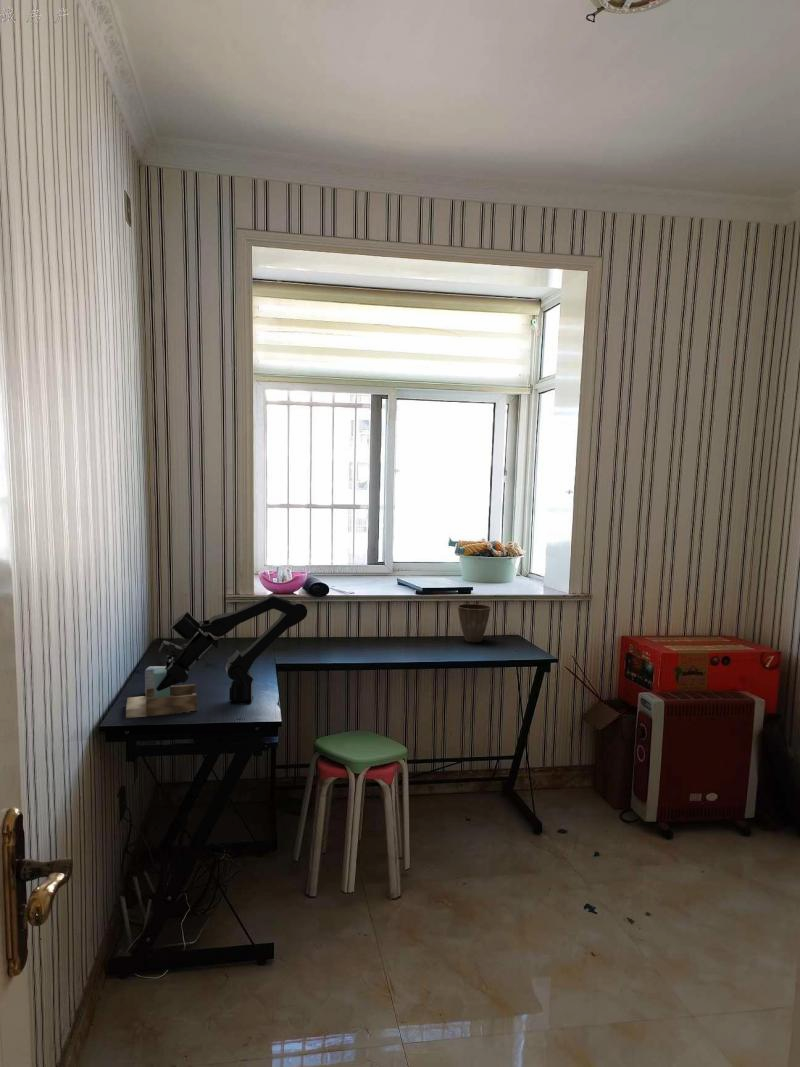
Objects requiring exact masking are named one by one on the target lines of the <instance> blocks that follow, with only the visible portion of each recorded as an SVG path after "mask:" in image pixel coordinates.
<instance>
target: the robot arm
mask: <svg viewBox="0 0 800 1067" xmlns="http://www.w3.org/2000/svg"><path fill="white" fill-rule="evenodd" d="M271 610H276V611H279V612H281V613H280V615H279V617H278V619H277V620H276V621H275V622H273V623H272V625H271V626H269V627H268V628H267V629H266V630H265V631H264V632H263V633H262V634H261V635H260V636H259V637H258V638H257V639H256V640H255V641H254V642H253V643H252V644H251V645H249V646H248V647H247V648H246V649H245V650H243V651H241V652H240V651H239V650H238V649H237V650H235V651H234V653H233V654H232V655H231V656H230V657H227V662H226V663H225V671H226V674H227V676H228V678H229V679H230V680H232V681H231V685H230V687H229V694H228V695H229V701H230V702H229V704H230V705H245V704H246V705H249V704H250V705H251V704H252V703H253V700H254V695H253V682H254V678H253V676H252V674H251V672H250V670H251V668H252V666H253V664H254V662H255V661H256V659H258V658H259V657H260V656H261V655H262V654H263V653H264V652H265V651H266V650H267V649H269V647H270V646H271V645H272V644H273V643H274V642H275V641H277V639H279V638H280V636H282V635H283V634H284V633H285V632H286V631H287V630H288V629H290V628H292V627H294V626H296V625H297V624H299V623H301V622H302V621H304V620H305V619H306V618H307V616H308V608H307V606H305V604H303V603H302V602H301V601H299V600H287V599H285V598H282V597H278V596H277V595H274V594H269V595H268V596H267V597H264V598H262V599H260V600H258V601H255V602H253V603H250V604H248V605H246V606H243V607H242V608H239V609H237V610H235V611H231V612H225V613H220V614H217V615H213V616H212V617H210V618H209V619H205V620H200V621H198V620H197V619H195V617H193V616H192V615H191V613H190V612H189V611H186V612H185V613H183V614H181V615H180V616H179V617H177V618H176V619H175V620H174V621H173V623H172V624H171V625H170V628H171V630H173V632H175V633H176V634H177V635H178V636H180V637H181V638H182V639H183V640H186V639H187V640H189V641H188V643H184V644H182V645H181V646H180V645H177V644H175V643H173V642H170V641H167V640H163V641H162V643H161V645H160V647H159V648H158V650H159V651H158V652H159V654H162V655H165V656H166V659H165V666H166V668H165V669H167V674H166V676H165V677H164V678H163V680H162V681H161V682H160V684H159V685H158V687H157V688H156V690H157V691H161V690H163V689H165V688H168V687H170V686H172V685H173V686H176V685H177V684H180V683H182V684H185V683H186V682H187V680H188V679H189V671H190V670H191V667H192V666H193V665H194V664H195V663H196V662H199V661H200V658H201V656H202V655H203V654H205V652H207V650H208V649H209V648H211V646H214V648H215V649H219V641H220V639H219V638H220V637H223V636H225V635H227V634H228V633H229V632H231V631H232V630H234V628H236V627H237V626H239V625H241V624H242V623H244V622H246V621H248V620H251V619H253V618H256V617H257V616H260V615H262V614H264V613H266V612H269V611H271ZM215 637H216V638H215Z"/></svg>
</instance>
